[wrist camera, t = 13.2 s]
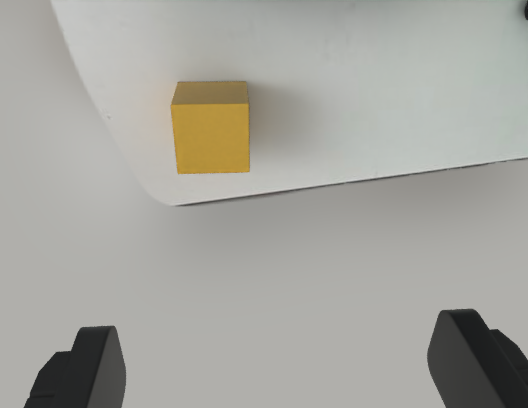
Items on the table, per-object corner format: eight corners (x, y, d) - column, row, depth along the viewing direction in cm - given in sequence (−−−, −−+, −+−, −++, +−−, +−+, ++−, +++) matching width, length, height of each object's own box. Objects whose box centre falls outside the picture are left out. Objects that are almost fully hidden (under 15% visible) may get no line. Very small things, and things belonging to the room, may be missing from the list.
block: (183, 144, 31) (177, 174, 27) (177, 81, 29) (170, 104, 25) (246, 143, 32) (249, 172, 28) (246, 81, 29) (249, 103, 25)
